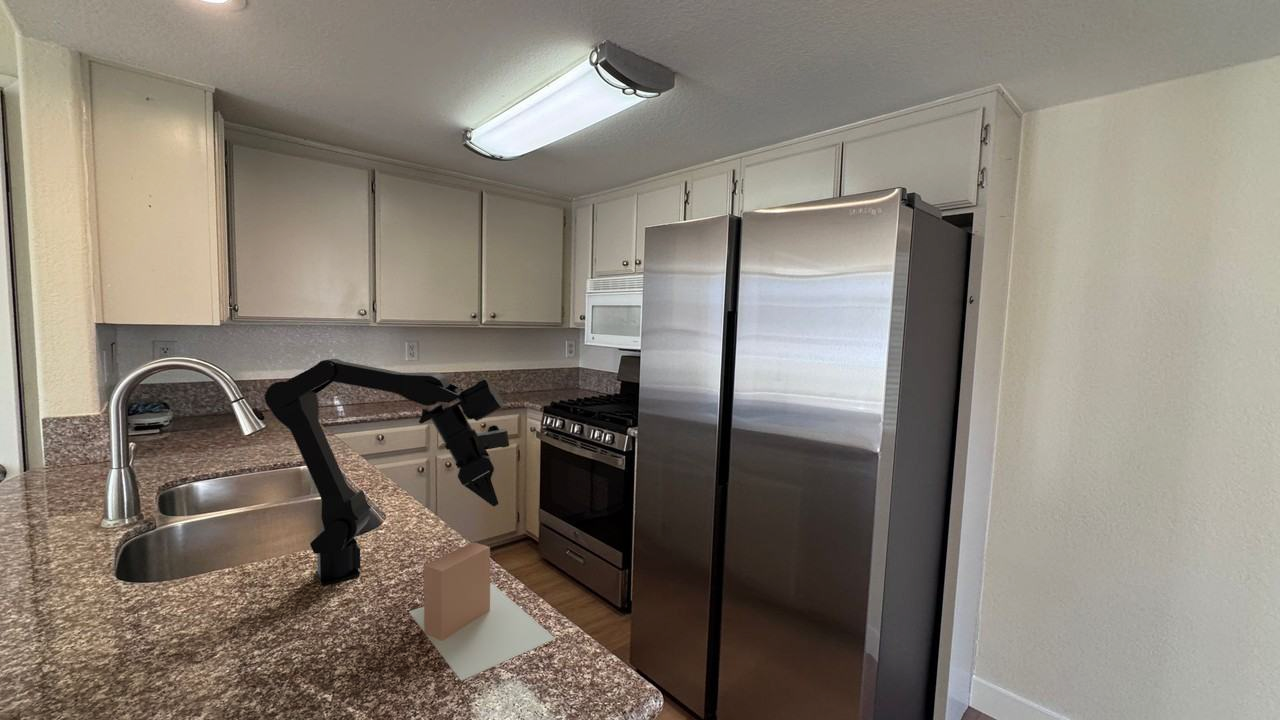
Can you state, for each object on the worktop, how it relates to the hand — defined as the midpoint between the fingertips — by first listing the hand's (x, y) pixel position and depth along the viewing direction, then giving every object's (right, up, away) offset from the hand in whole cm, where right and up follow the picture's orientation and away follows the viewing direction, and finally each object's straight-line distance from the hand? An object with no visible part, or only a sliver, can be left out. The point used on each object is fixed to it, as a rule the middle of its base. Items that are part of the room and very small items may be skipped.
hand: (494, 499), depth 104 cm
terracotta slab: (-1, -15, -19) cm, 24 cm away
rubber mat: (+3, -15, -20) cm, 25 cm away
